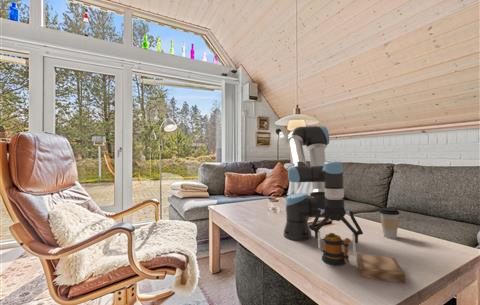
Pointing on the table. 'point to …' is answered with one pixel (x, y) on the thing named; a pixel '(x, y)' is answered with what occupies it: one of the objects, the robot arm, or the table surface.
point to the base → (380, 268)
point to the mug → (335, 250)
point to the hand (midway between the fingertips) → (336, 248)
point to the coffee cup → (389, 221)
